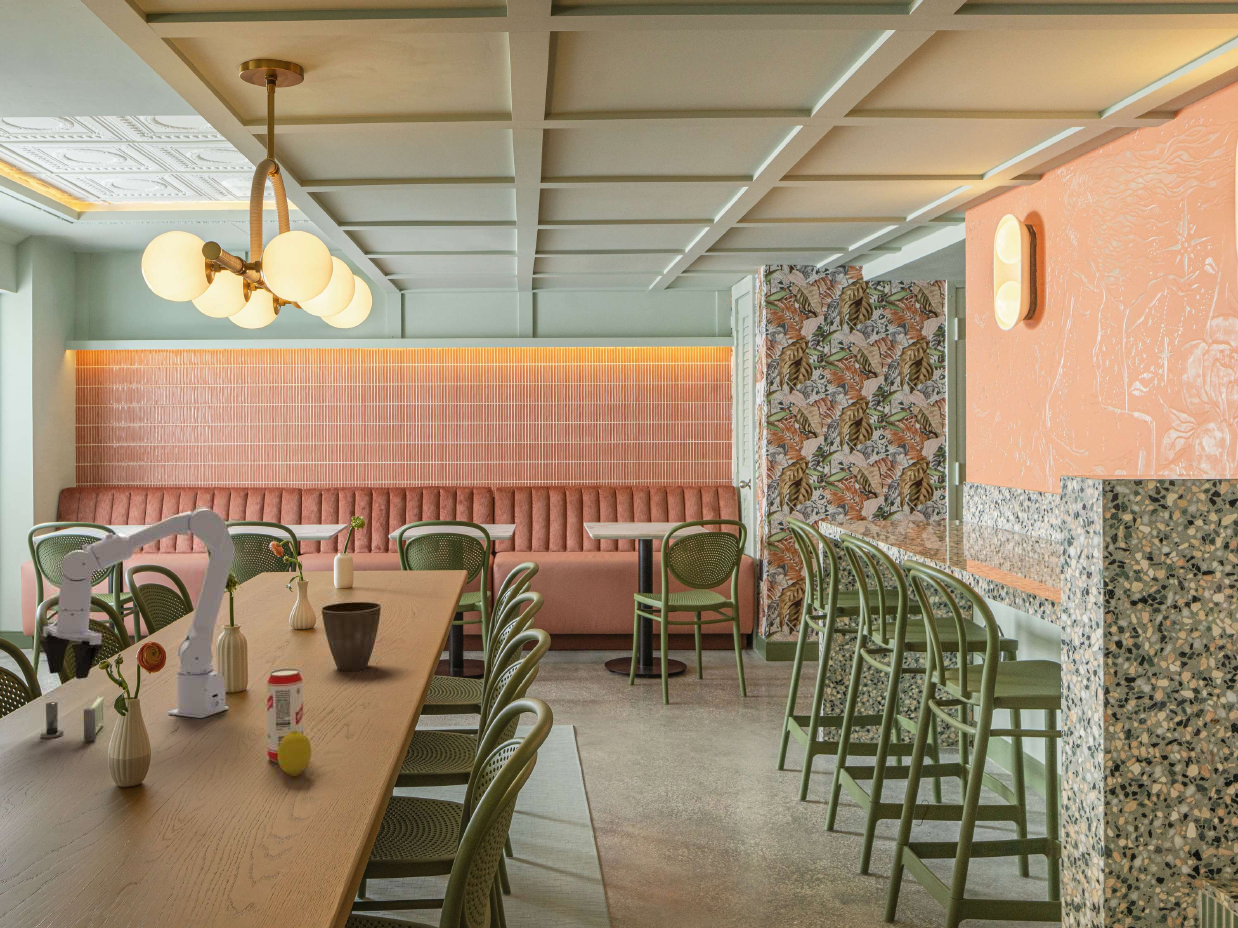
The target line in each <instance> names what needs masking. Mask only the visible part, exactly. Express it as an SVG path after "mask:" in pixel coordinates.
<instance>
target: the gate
mask: <svg viewBox="0 0 1238 928" xmlns="http://www.w3.org/2000/svg"><path fill="white" fill-rule="evenodd" d="M104 723H105V696H98V697H97V699H96V700H95V702H93V704H92V705H91V706H90V707H88V708H84V709H83V741H84V742H93V741H96V740H97V737H96V735H97V733H98V731H99V730H100V728H101V727H103V725H104Z"/></svg>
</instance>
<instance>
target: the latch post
mask: <svg viewBox="0 0 1238 928" xmlns="http://www.w3.org/2000/svg"><path fill="white" fill-rule="evenodd" d="M58 711H59V709H58V702H57V701H51V702H46V703H45V726H46V727H45V729H46V730H45V731H43V732H42V733H40V735H39V737H40V739H43V740H49V739H56V738H60V737H63V736H64V735H65V731H64V730H61V729H59V719H58V718H59V717H58V716H59V715H58V714H59V713H58Z"/></svg>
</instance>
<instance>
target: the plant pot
mask: <svg viewBox="0 0 1238 928" xmlns="http://www.w3.org/2000/svg"><path fill="white" fill-rule="evenodd" d="M320 609H321V616H322V620H323V621H322V622H323V626H324V631H325V636H326V640H327V643H328V647H329V650H330V652H331V656H332V658H333V661H334V663H335V666H336V668H337V670H338V669H339V671H341V670H342V672H354V671H360V670H361V669H362V670H365V669H366V668H367V667H368V665H369V662H370V659H371V657H372V653H373V650H374V646H375V643H376V638H377V634H378V630H379V624H380V618H381V610H382V604H380V603H376V602H369V601H368V602H367V601H358V602H357V601H351V602H341V603H340V602H339V603H334V604H328V605H325V606H322V607H321V608H320ZM362 670H361V671H362Z"/></svg>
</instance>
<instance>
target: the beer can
mask: <svg viewBox="0 0 1238 928" xmlns="http://www.w3.org/2000/svg"><path fill="white" fill-rule="evenodd" d="M269 674H270V676H269V677H268V680H267V683H266V692H267V694H266V695H267V696H266V697H267V698H266V707H267V715H266V716H267V719H266V720H267V721H266V722H267V725H266V726H267V757H268V759H269V760H271V761H272V762H273V763H277V764H279V762H278V748H279V745H280V742H281V740H282V739H283V738H284V737H285V736H286V735H287V734H289V733H291V732H292V731H293V730H296V731H297V732H300V733H302V734H304V685H303V684H304V681H303V678H302V676H301V674H300V670H299V669H297V668H281V669H276V670H272V671H271V672H269ZM304 735H305V734H304Z"/></svg>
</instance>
